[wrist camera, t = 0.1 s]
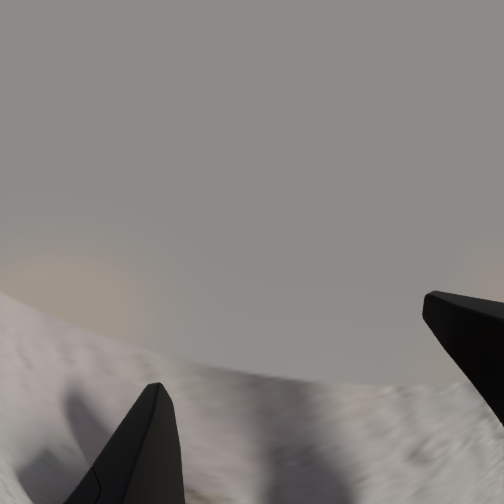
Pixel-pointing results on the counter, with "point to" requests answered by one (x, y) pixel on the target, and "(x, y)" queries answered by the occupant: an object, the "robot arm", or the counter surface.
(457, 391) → the counter surface
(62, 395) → the counter surface
